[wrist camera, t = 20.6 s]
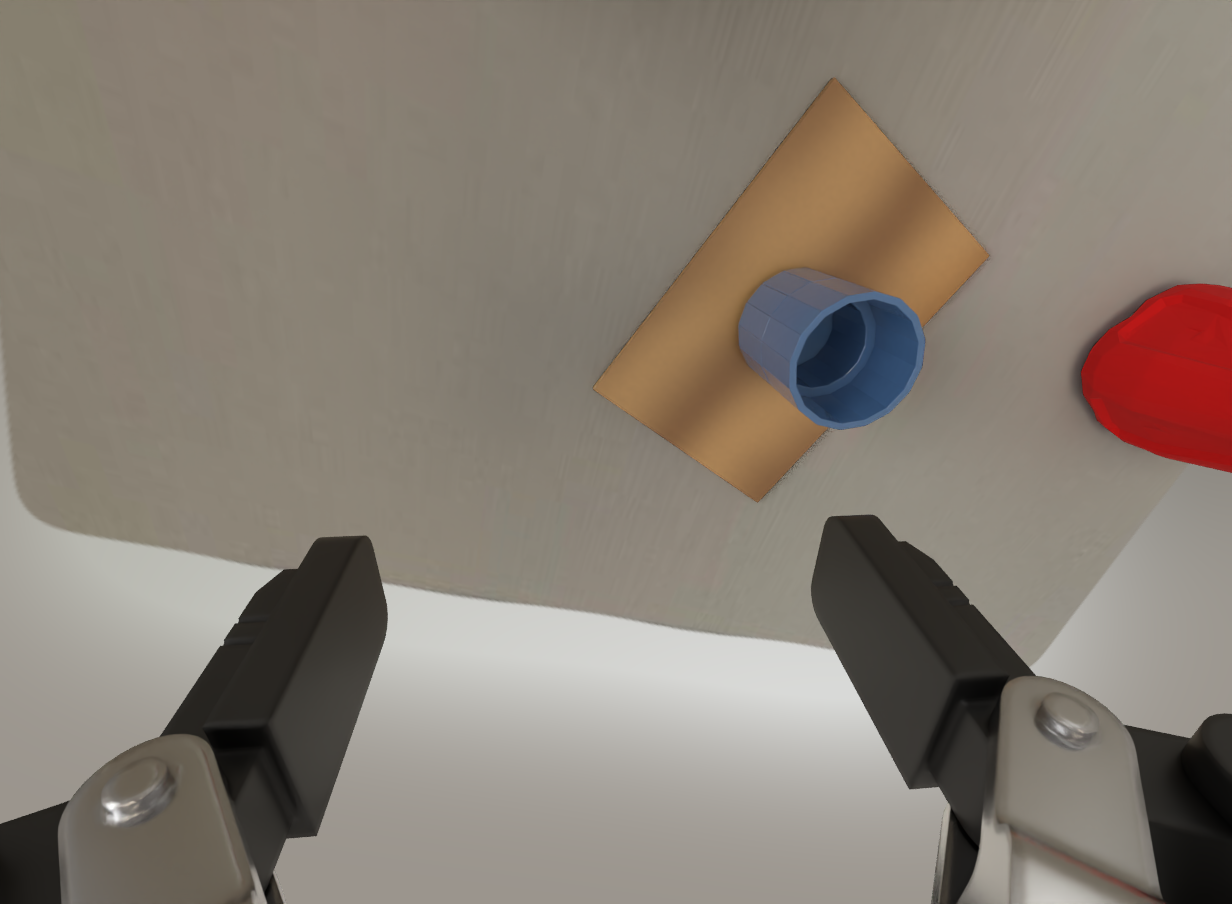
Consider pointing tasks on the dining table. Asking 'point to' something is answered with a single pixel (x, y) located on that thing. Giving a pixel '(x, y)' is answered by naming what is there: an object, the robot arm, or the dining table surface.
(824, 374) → the blue plastic tumbler
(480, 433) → the dining table surface
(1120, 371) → the water bottle
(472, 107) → the dining table surface
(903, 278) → the mat
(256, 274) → the dining table surface
